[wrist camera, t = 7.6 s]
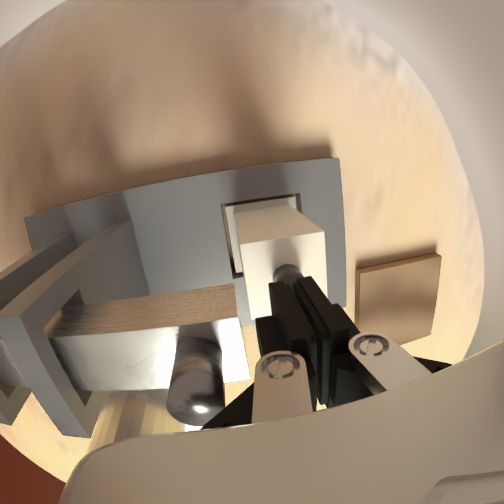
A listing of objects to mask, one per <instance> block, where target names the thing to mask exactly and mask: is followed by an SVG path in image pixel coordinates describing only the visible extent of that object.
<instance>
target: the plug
mask: <svg viewBox="0 0 504 504" xmlns="http://www.w3.org/2000/svg"><path fill="white" fill-rule="evenodd" d="M225 208H226V215H227V221H228V227H229V233H230V240H231V246H232V252H233V258H234V264H235V270H236V273H239V272H243V276H244V281H245V286H246V292H247V297H248V303H249V308H250V313H251V319H252V320H254V319H255V318H258V317H264V316H270V315H272V313H271V304H270V296H269V286H268V283H271V282H277V281H283V282H284V284H288V283H289V285H290V287H291V289H292V283H294V282H296V281H297V278H301V277H307V276H312V278H313V279H314V280H315V282H316V283H317V284H318V286H319V287H320V289H321V290H322V291H323V293H324V294H325V295H326V297H327V271H326V252H325V236H324V231H323V230H322V229H320V228H319V227H318V226H317V225H315V224H314V223H313V222H311V221H310V220H309V219H308V218H306V217H305V216H304V215H302V214H301V213H300V212H298V211H297V209H296V199H295V196H293V195H285V196H278V197H270V198H263V199H256V200H250V201H243V202H237V203H230V204H225ZM327 298H328V297H327Z"/></svg>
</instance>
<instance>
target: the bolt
mask: <svg viewBox="0 0 504 504" xmlns="http://www.w3.org/2000/svg"><path fill="white" fill-rule="evenodd" d="M43 329H44V331H45V333H46V336H47V338H48V340H49V342H50V344H51V346H52V348H53V350H54V352H55V354H56V356H57V358H58V360H59V362H60V364H61V366H62V368H63V370H64V372H65V373H66V375H67V377H68V379H69V381H70V382H71V384H72V386H73V388H74V389H75V390H88V391H113V390H145V389H162V388H169V391H168V396H167V402H166V407H167V410H168V412H169V414H170V415H171V416H172V417H173V418H174V419H176V420H177V421H179V422H181V423H183V424H186V425H191V426H204V425H205V424H206V423H207V422H208V421H210V420H211V419H212V418H213V417H214V416H216V415H217V414H218V413H219V412H220V411H222V410H223V409H224V408H225V387H224V382H230V381H237V380H244V379H250V378H249V370H248V363H247V356H246V349H245V341H244V335H243V330H242V324H241V319H240V313H239V308H238V302H237V297H236V291H235V285H234V283H232V284H225V285H219V286H212V287H206V288H199V289H193V290H186V291H179V292H172V293H166V294H159V295H151V296H144V297H137V298H130V299H122V300H115V301H107V302H99V303H91V304H83V305H75V306H66V307H62V308H61V309H60V310H59V311H58V312H57V313H56V314H55V316H54V317H53V318H52V319H51V320H50V321H49V323H48V324H47V325H46V326H45V327H44V328H43ZM0 384H2V385H10V386H19V387H29V386H28V384H27V383H26V381H25V379H24V378H23V376H22V374H21V373H20V371H19V369H18V367H17V366H16V364H15V362H14V360H13V358H12V356H11V355H10V353H9V351H8V349H7V347H6V345H5V343H4V341H3V339H2V337H1V335H0Z"/></svg>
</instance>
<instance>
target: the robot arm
mask: <svg viewBox="0 0 504 504" xmlns="http://www.w3.org/2000/svg"><path fill="white" fill-rule="evenodd" d="M268 286H269V296H270V304H271V313H272V315H270V316H264V317H258V318H255V324H256V331H257V338H258V344H259V350H260V355H261V358H260V359H259V361H258V362H257V364H256V367H255V379H254V383H253V384H252V385H250V386H249V387H248V388H247V389H246V390H245V391H244V392H243V393H241V394H240V395H239V396H238V397H237V398H236V399H234V400H233V401H232V402H231V403H230V404H229V405H227V406H226V407H225V408H224V409H223V410H222V411H220V412H219V413H218V414H217V415H216V416H214V417H213V418H212V419H211V420H210V421H208V422H207V423H206V424H205V425H204V426H191V425H186V424H183V423H181V422H179V421H177V420H176V419H174V418H173V417H172V416H171V415H170V414H169V412H168V410H167V407H166V402H167V396H168V391H169V388H162V389H145V390H113V391H108V392H107V395H106V397H105V400H104V402H103V405H102V408H101V411H100V413H99V416H98V419H97V424H96V427H95V430H94V433H93V436H92V439H91V442H90V445H89V448H88V451H87V454H86V455H85V456H84V457H83V458H82V459H81V460H80V461H79V462H78V464H77V465H76V466H75V468H74V470H73V471H72V473H71V475H70V477H69V479H68V481H67V483H66V485H65V488H64V490H63V493H62V496H61V498H60V501H59V504H504V340H503V341H501V342H499V343H497V344H495V345H493V346H491V347H489V348H487V349H485V350H483V351H481V352H479V353H477V354H475V355H473V356H471V357H469V358H467V359H465V360H463V361H460V362H458V363H456V364H454V365H452V364H448V363H444V362H438V361H433V360H428V359H423V358H418V357H413V356H411V355H410V354H409V353H408V352H407V351H405V350H404V349H403V348H402V347H401V346H399V345H398V344H397V343H396V342H395V341H393V340H392V339H391V338H390V337H388V336H387V335H385V334H382V333H379V332H364V333H360V331H359V330H358V329H357V327H356V326H355V325H354V323H353V322H352V321H351V319H350V318H349V317H348V315H347V314H346V313H345V311H344V310H343V309H342V307H341V306H340V305H339V304H338V303H335V304H331V302H330V301H329V300H328V298H327V297H326V295H325V294H324V293H323V291H322V290H321V289H320V287H319V286H318V284H317V283H316V282H315V280H314V279H313V278H312V276H307V277H301V278H297V281H296V282H294V283H292V289H291V287H290V285H289V283H288V284H284V282H283V281H277V282H271V283H268ZM317 398H318V401H319V403H320V405H323V404H325V405H326V407H327V409H323V410H319V411H316V406H317Z"/></svg>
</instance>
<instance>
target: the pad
mask: <svg viewBox="0 0 504 504" xmlns="http://www.w3.org/2000/svg"><path fill="white" fill-rule="evenodd" d="M441 257H442V256H441V255H439V254H437V253H432V254H427V255H423V256H418V257H414V258H409V259H404V260H400V261H395V262H390V263H385V264H381V265H376V266H371V267H366V268H361V269H356V297H355V326H356V327H357V329H358V330H359V331H360V333H364V332H379V333H382V334H385V335H387V336H388V337H390V338H391V339H392V340H393V341H395V342H396V343H397V344H398V345H402V344H405V343H408V342H411V341H414V340H417V339H420V338H423V337H425V336H428V335H430V334H431V329H432V324H433V318H434V313H435V306H436V300H437V293H438V285H439V277H440V267H441Z"/></svg>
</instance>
